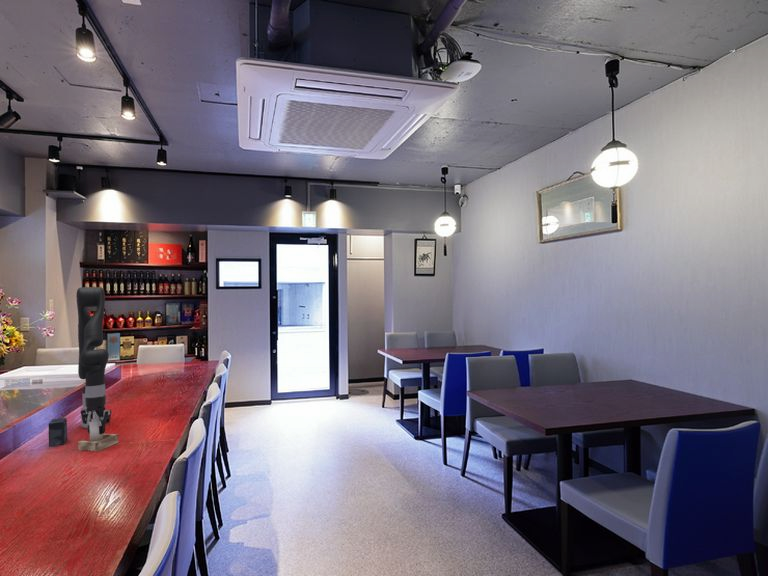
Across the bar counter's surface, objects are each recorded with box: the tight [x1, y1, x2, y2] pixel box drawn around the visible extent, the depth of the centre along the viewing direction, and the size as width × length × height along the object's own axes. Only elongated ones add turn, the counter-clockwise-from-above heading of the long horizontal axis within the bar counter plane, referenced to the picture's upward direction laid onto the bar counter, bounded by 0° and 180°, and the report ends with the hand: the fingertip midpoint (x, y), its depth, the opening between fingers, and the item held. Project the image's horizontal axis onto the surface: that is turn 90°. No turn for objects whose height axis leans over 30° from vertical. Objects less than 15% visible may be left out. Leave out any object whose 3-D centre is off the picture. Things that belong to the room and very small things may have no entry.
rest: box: [77, 433, 119, 452], centre depth 196 cm, size 10×11×4 cm
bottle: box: [89, 410, 104, 441], centre depth 196 cm, size 5×5×14 cm
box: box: [48, 417, 68, 448], centre depth 201 cm, size 8×6×11 cm
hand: (96, 433), depth 196 cm, fingers closed on bottle, 5 cm apart
